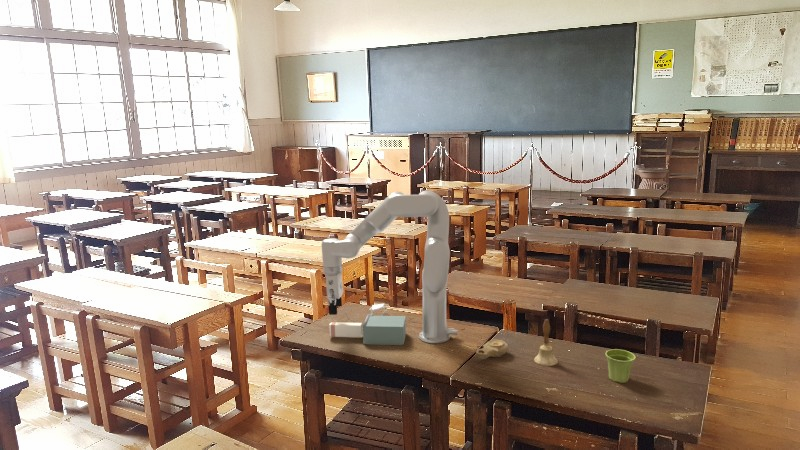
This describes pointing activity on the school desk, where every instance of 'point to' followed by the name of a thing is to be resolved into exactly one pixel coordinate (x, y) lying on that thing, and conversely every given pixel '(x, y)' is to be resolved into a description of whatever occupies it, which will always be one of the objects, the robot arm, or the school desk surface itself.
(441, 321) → the robot arm
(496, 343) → the oil lamp
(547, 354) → the hand bell
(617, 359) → the plant pot
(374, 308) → the white scroll-footed stand
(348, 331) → the pink-banded cream bar
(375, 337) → the block
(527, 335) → the school desk surface
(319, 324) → the school desk surface
